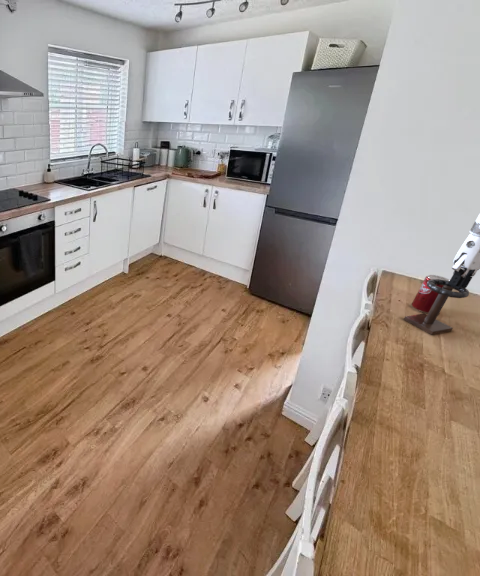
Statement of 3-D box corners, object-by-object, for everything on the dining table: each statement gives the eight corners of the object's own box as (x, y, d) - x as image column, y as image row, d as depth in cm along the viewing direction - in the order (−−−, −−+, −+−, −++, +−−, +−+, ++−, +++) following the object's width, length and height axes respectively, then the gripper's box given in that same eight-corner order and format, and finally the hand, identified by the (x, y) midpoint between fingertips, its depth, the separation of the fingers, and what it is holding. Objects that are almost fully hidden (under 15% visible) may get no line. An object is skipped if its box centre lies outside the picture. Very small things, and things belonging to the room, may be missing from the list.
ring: (475, 297, 112) (478, 292, 111) (451, 300, 110) (454, 295, 109) (440, 281, 120) (443, 276, 120) (418, 284, 118) (420, 279, 117)
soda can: (411, 309, 130) (427, 279, 124) (410, 301, 135) (425, 272, 129) (437, 317, 126) (455, 286, 120) (435, 308, 131) (452, 278, 126)
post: (451, 331, 118) (474, 292, 112) (431, 334, 116) (454, 295, 109) (422, 316, 126) (442, 279, 119) (403, 319, 124) (422, 281, 117)
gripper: (485, 236, 102) (452, 294, 110) (522, 233, 106) (487, 289, 115) (455, 227, 108) (426, 283, 117) (491, 225, 112) (460, 278, 121)
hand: (456, 286), depth 115 cm, fingers closed on ring, 2 cm apart
